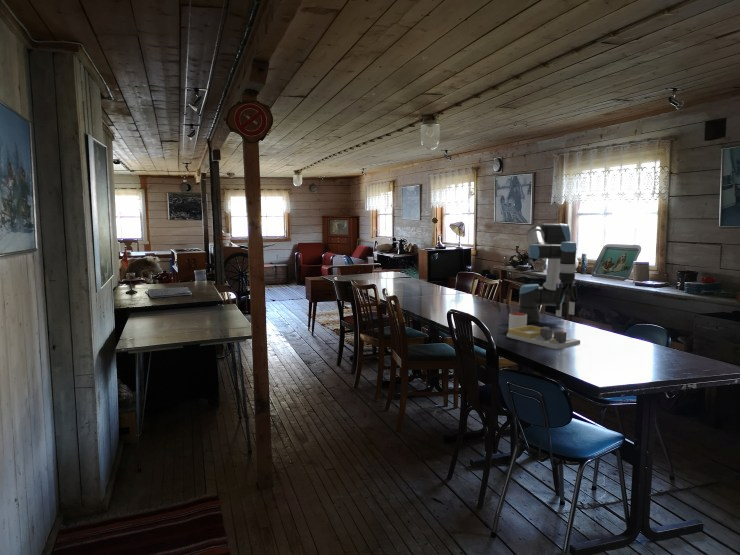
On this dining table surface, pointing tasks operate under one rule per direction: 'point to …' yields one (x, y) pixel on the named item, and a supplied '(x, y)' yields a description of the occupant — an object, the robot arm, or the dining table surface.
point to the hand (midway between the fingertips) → (565, 315)
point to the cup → (517, 320)
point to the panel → (546, 342)
